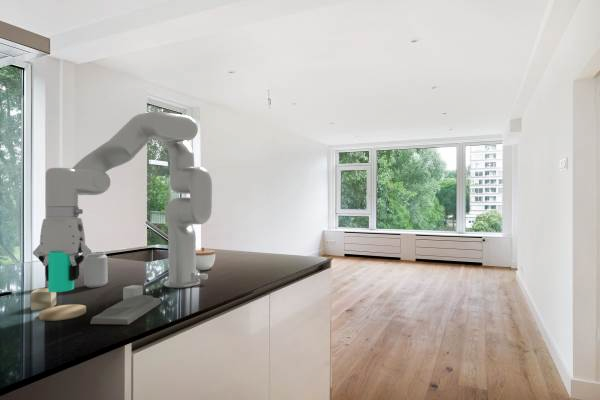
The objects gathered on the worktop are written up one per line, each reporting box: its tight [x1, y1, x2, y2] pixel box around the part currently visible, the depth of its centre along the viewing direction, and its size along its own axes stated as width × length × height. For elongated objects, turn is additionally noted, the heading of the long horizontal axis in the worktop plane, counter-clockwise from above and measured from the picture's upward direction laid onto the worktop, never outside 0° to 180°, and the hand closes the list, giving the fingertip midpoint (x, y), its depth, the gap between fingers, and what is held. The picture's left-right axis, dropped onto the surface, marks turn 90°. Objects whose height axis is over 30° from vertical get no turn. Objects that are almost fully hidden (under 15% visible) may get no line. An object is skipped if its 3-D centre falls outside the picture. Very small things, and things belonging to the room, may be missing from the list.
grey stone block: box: [122, 284, 144, 301], centre depth 121 cm, size 4×4×4 cm
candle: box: [48, 252, 75, 293], centre depth 105 cm, size 6×6×12 cm
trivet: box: [38, 304, 87, 322], centre depth 106 cm, size 11×11×1 cm
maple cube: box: [30, 287, 57, 311], centre depth 113 cm, size 5×5×5 cm
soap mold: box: [89, 294, 162, 325], centre depth 107 cm, size 10×20×4 cm, turn 176°
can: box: [83, 251, 109, 288], centre depth 140 cm, size 8×8×12 cm
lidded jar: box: [196, 247, 216, 271], centre depth 172 cm, size 11×11×9 cm
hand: (62, 279), depth 105 cm, fingers closed on candle, 5 cm apart
